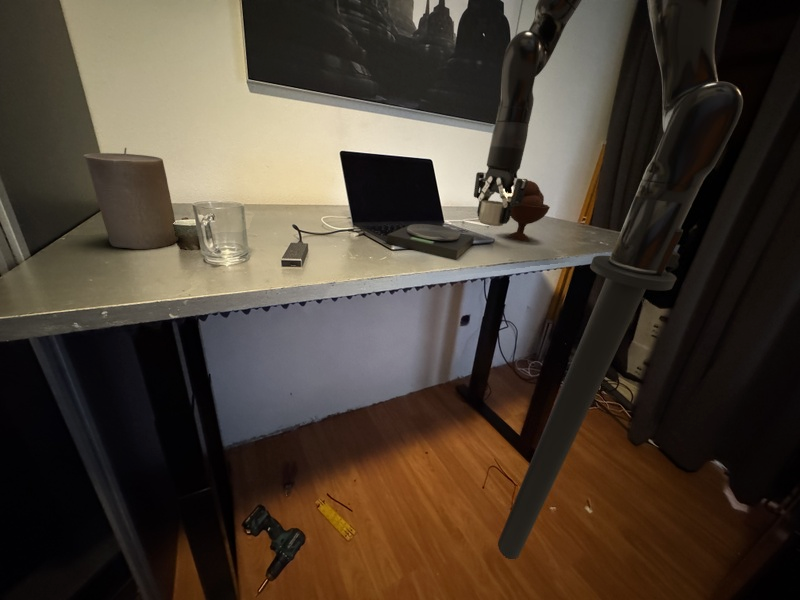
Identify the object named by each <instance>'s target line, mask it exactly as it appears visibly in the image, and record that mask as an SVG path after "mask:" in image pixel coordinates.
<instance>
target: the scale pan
mask: <svg viewBox="0 0 800 600" xmlns="http://www.w3.org/2000/svg"><path fill="white" fill-rule="evenodd" d="M414 224H415V225H411V224H410V226H409V225H407V226H408V228H407V231H408V232H409V233H410V234H412V235H415V236H417V237H421V238H425V239H431V240H441V241H450V240H456V239H458V238H459V237H460V233H461V232H459V231H458V230H456V229H454V228H451V227H447V226H442V225H437V224H431V223H430V224H429V223H428V224H427V223H414Z"/></svg>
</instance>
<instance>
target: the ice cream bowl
mask: <svg viewBox="0 0 800 600" xmlns="http://www.w3.org/2000/svg"><path fill="white" fill-rule="evenodd" d="M544 198H545V196H544V194H543V193H542V191H541V189H540V187H539V186H538V184H537V182H535V181H532V180H528V183H527V187H526V190H525V193H524V196H523V200H522V203H521V205H520V206H516V207H513V208H512V211H511V215H510V218H511V219H512V220H513V221H514V222H516V223H517V229H516V231H514V232H511V233H509V234H508V235H507V236H508V238H509V239H511V240H515V241H518V242H528V241H529V240H530V238H529V236H527V235H526V233H524V232H525V228H526V226H527V225H530V224H533V223H534V224H535V223H536V222H538V221H540V220H541V219H543V218H544V217H545V216H546V215H547V213H548V212H549V210H550V208H551V207H550V206H549V205H548V204H545V203H544V201H545V199H544Z"/></svg>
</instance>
